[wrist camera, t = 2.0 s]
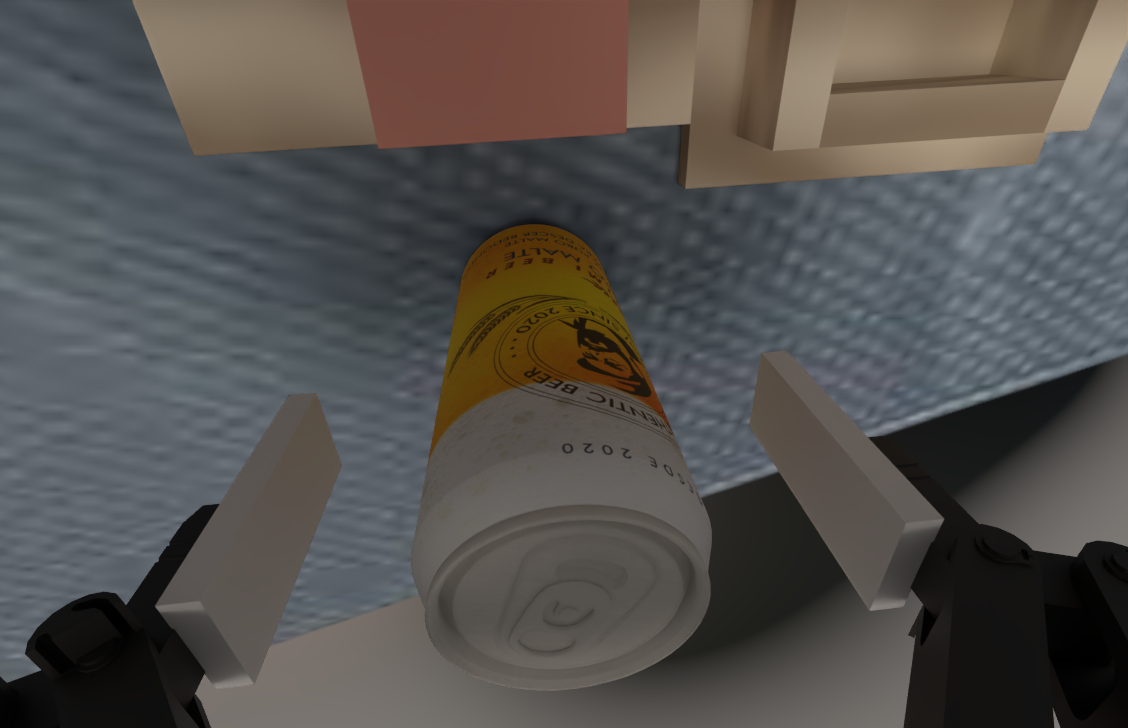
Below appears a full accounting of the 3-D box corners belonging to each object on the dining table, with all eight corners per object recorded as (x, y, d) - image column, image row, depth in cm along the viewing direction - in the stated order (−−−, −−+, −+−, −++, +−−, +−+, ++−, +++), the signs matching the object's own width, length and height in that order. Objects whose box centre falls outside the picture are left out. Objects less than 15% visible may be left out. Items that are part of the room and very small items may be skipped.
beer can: (628, 251, 22) (798, 544, 9) (568, 366, 25) (635, 714, 12) (491, 193, 20) (466, 457, 7) (443, 324, 23) (364, 681, 10)
